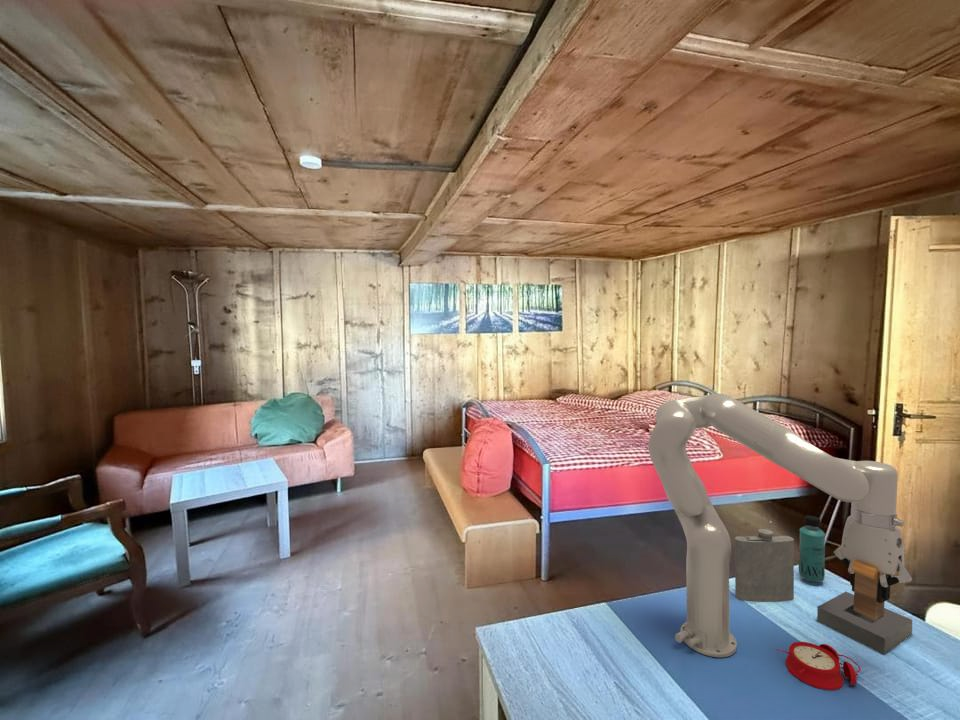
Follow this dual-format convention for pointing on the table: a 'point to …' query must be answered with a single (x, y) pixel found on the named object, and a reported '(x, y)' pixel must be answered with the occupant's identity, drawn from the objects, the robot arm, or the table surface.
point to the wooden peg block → (867, 591)
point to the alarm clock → (819, 665)
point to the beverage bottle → (812, 550)
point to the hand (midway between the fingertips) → (869, 594)
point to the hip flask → (764, 567)
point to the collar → (864, 624)
